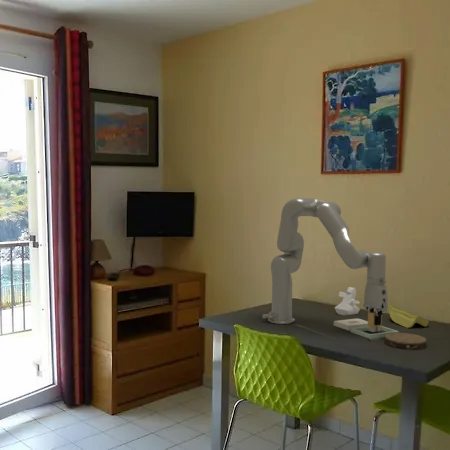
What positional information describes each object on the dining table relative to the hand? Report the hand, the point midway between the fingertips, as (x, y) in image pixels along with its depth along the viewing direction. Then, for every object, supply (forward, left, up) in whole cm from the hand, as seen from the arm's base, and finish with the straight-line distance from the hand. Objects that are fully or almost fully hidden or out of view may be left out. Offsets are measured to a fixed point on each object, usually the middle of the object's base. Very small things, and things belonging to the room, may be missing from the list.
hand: (374, 323), depth 226 cm
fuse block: (0, +13, -5) cm, 14 cm away
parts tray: (0, 0, -5) cm, 5 cm away
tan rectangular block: (0, 0, -3) cm, 3 cm away
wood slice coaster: (+2, -16, -6) cm, 17 cm away
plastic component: (+31, +11, -6) cm, 34 cm away
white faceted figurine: (+17, +37, -5) cm, 42 cm away
